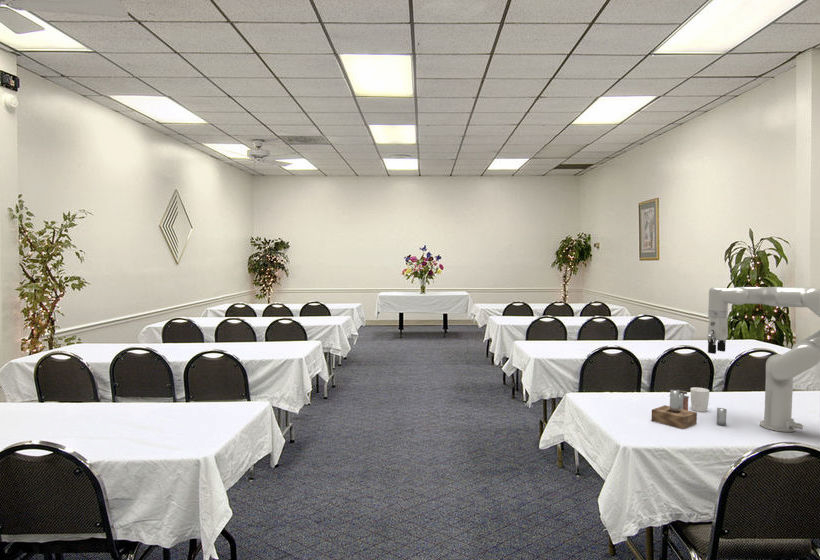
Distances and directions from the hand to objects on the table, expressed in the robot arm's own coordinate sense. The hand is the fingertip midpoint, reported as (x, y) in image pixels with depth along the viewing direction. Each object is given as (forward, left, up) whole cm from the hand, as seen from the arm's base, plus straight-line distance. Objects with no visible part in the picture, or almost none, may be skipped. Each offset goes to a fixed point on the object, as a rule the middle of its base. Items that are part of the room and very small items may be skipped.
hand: (716, 352), depth 234 cm
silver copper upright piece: (+15, +2, -31) cm, 34 cm away
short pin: (-6, +8, -30) cm, 32 cm away
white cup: (+10, -8, -31) cm, 33 cm away
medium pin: (+11, +11, -30) cm, 34 cm away
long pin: (+8, +21, -30) cm, 38 cm away
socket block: (+8, +21, -30) cm, 38 cm away
